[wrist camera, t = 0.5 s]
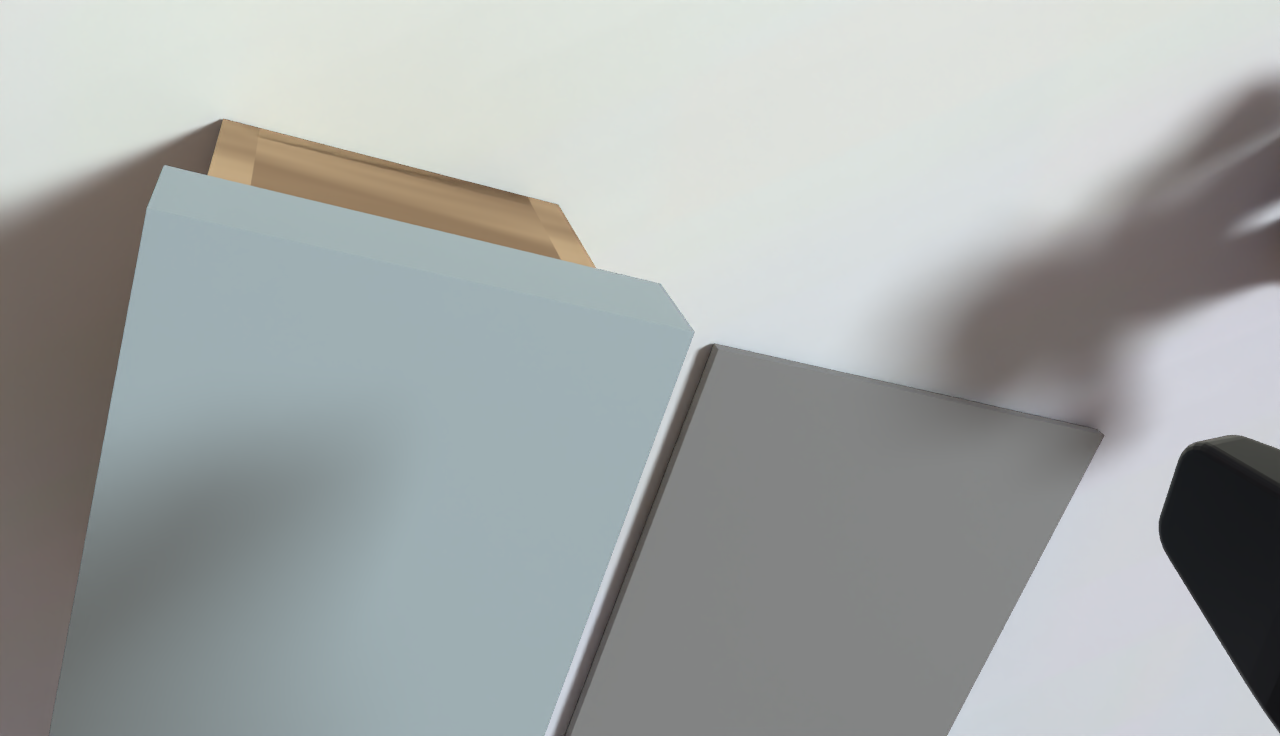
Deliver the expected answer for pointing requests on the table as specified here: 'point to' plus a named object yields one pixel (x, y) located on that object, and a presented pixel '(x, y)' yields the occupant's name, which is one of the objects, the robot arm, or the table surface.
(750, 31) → the table surface
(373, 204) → the chalk box
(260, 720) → the lid
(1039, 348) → the table surface
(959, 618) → the felt pad
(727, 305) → the table surface
